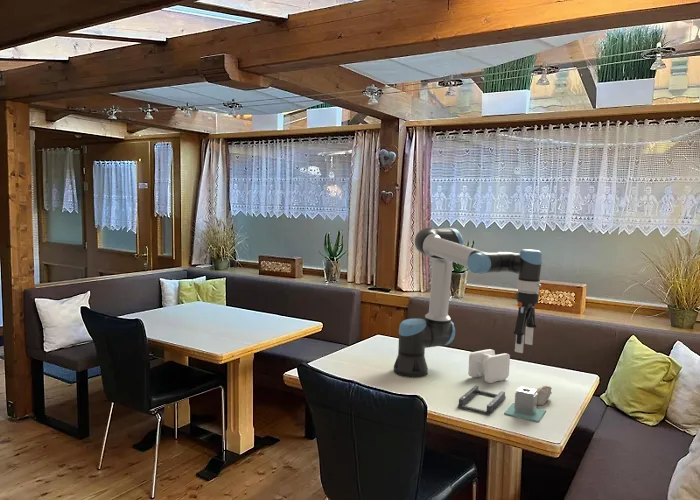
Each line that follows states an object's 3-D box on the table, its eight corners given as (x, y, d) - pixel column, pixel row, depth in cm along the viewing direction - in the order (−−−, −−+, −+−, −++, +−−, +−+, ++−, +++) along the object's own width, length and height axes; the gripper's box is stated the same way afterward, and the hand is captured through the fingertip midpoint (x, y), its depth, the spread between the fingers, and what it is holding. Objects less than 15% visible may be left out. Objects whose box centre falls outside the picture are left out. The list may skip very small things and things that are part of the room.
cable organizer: (485, 385, 221) (487, 358, 220) (466, 378, 230) (468, 351, 229) (509, 379, 230) (510, 353, 229) (490, 372, 238) (491, 347, 237)
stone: (522, 408, 206) (517, 389, 202) (538, 388, 213) (534, 369, 208) (540, 415, 200) (536, 395, 196) (556, 394, 207) (552, 375, 203)
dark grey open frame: (457, 407, 195) (457, 399, 195) (475, 392, 212) (475, 384, 212) (489, 415, 189) (490, 407, 189) (505, 398, 206) (505, 390, 206)
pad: (504, 414, 190) (504, 412, 190) (512, 404, 201) (513, 402, 200) (538, 422, 184) (538, 420, 184) (545, 411, 194) (545, 410, 194)
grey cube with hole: (513, 412, 191) (515, 390, 191) (517, 406, 197) (519, 385, 196) (532, 416, 188) (534, 394, 187) (536, 411, 193) (538, 389, 192)
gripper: (530, 297, 181) (525, 358, 183) (546, 288, 202) (542, 342, 204) (508, 294, 185) (503, 353, 187) (526, 286, 206) (522, 339, 208)
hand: (523, 348), depth 196 cm, fingers open, 13 cm apart
